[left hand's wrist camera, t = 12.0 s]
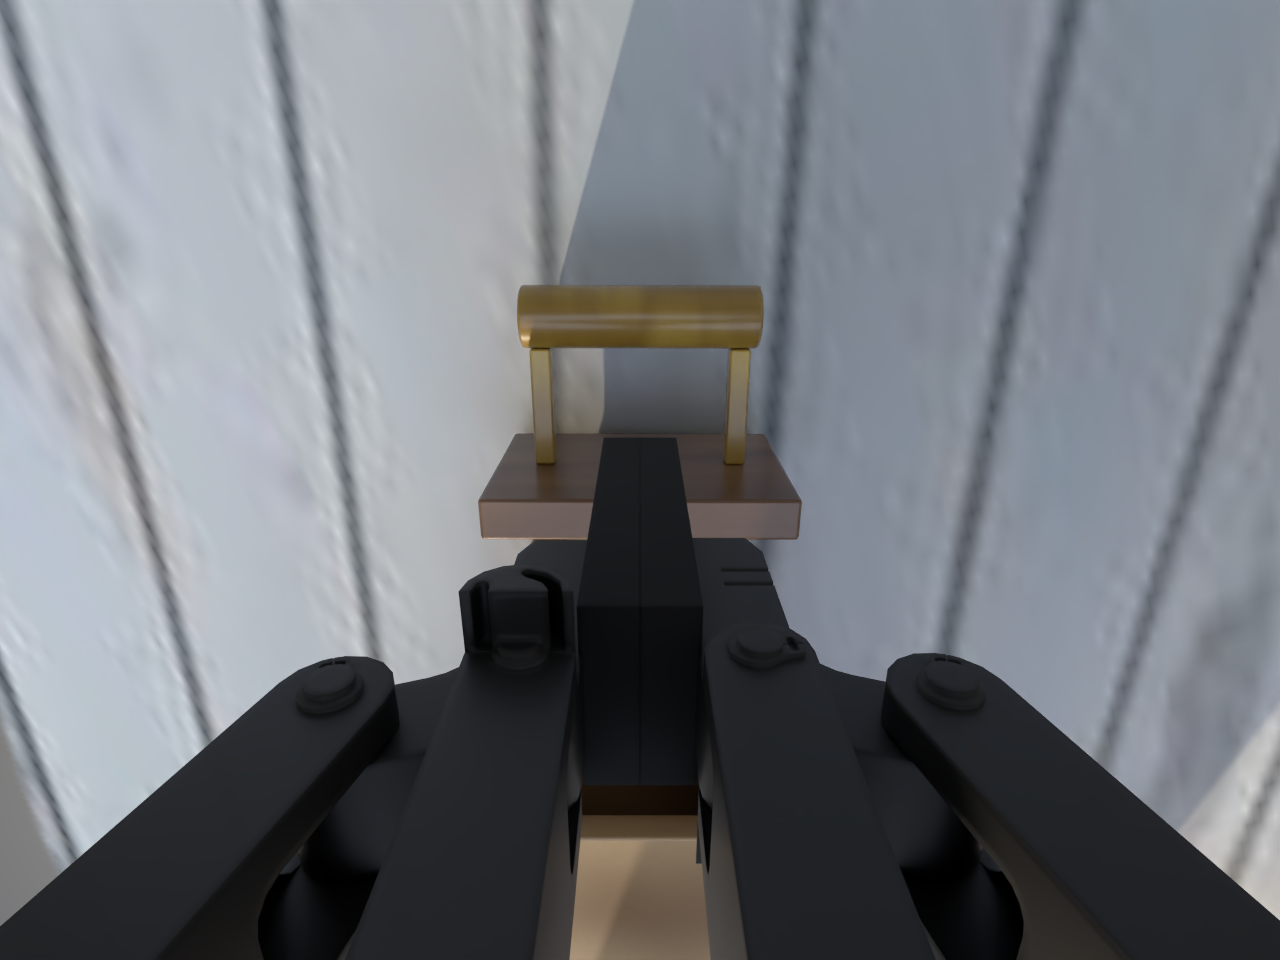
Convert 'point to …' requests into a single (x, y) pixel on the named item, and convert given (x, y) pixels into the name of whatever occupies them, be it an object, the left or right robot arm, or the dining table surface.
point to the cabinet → (639, 890)
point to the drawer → (568, 463)
